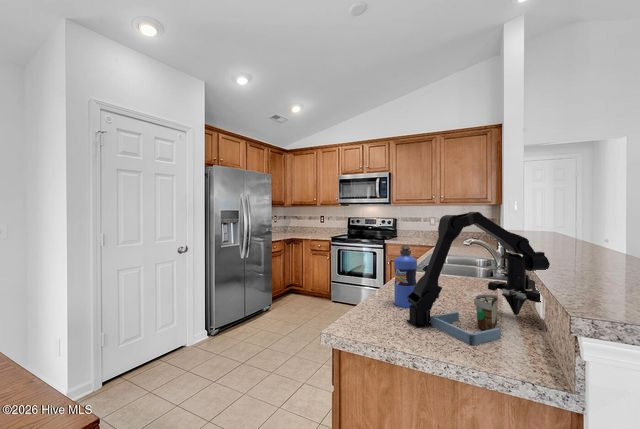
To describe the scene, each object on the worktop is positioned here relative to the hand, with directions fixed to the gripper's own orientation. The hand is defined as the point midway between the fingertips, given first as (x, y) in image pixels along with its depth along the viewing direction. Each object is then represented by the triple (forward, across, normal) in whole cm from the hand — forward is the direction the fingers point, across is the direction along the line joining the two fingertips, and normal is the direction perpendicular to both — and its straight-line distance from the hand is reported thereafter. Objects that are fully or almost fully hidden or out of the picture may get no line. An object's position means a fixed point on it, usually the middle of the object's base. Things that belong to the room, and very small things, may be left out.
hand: (516, 314), depth 107 cm
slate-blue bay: (+2, 0, +26) cm, 26 cm away
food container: (+2, 0, +16) cm, 16 cm away
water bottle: (+2, +30, +25) cm, 39 cm away
